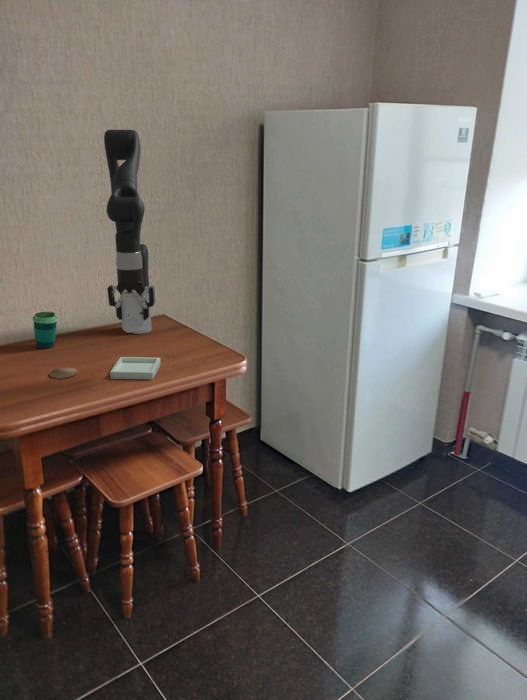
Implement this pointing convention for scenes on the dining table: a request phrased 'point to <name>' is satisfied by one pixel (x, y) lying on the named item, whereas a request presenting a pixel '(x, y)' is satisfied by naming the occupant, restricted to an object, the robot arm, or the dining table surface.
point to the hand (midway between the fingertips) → (133, 319)
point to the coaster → (63, 373)
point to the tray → (135, 368)
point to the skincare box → (132, 313)
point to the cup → (45, 329)
